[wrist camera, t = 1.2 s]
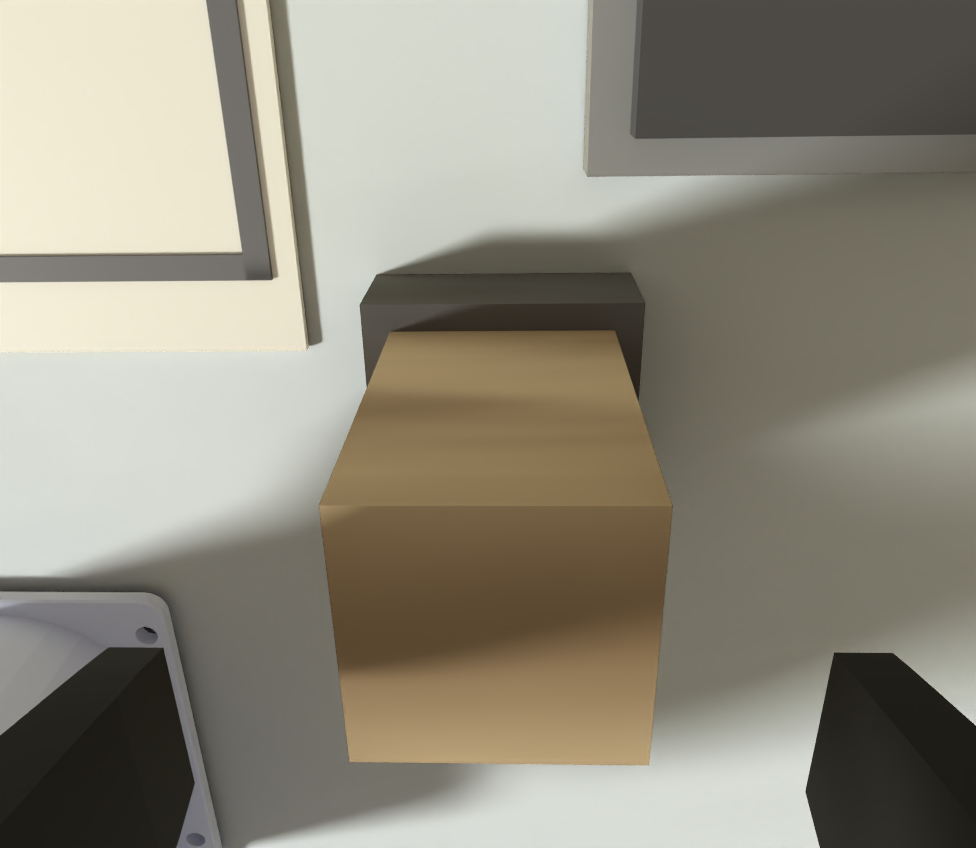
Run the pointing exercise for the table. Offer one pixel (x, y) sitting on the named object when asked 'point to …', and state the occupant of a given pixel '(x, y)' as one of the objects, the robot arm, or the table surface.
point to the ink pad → (779, 87)
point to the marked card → (144, 179)
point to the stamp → (499, 525)
